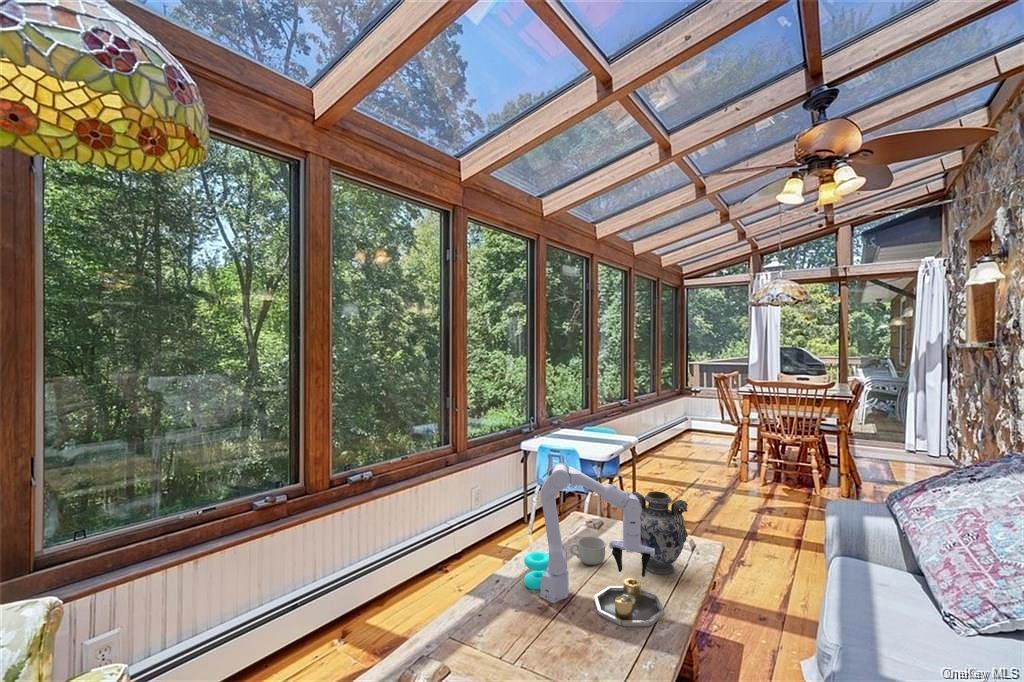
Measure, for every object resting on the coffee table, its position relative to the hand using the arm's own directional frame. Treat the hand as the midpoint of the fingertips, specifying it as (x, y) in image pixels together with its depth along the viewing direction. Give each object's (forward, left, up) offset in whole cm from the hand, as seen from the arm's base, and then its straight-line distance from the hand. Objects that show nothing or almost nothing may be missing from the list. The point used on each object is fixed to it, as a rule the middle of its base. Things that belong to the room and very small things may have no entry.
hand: (631, 573), depth 157 cm
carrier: (-6, -2, -9) cm, 11 cm away
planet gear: (0, 0, -8) cm, 8 cm away
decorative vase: (+26, +5, -9) cm, 28 cm away
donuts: (-15, +29, -9) cm, 34 cm away
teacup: (+11, +27, -9) cm, 31 cm away
